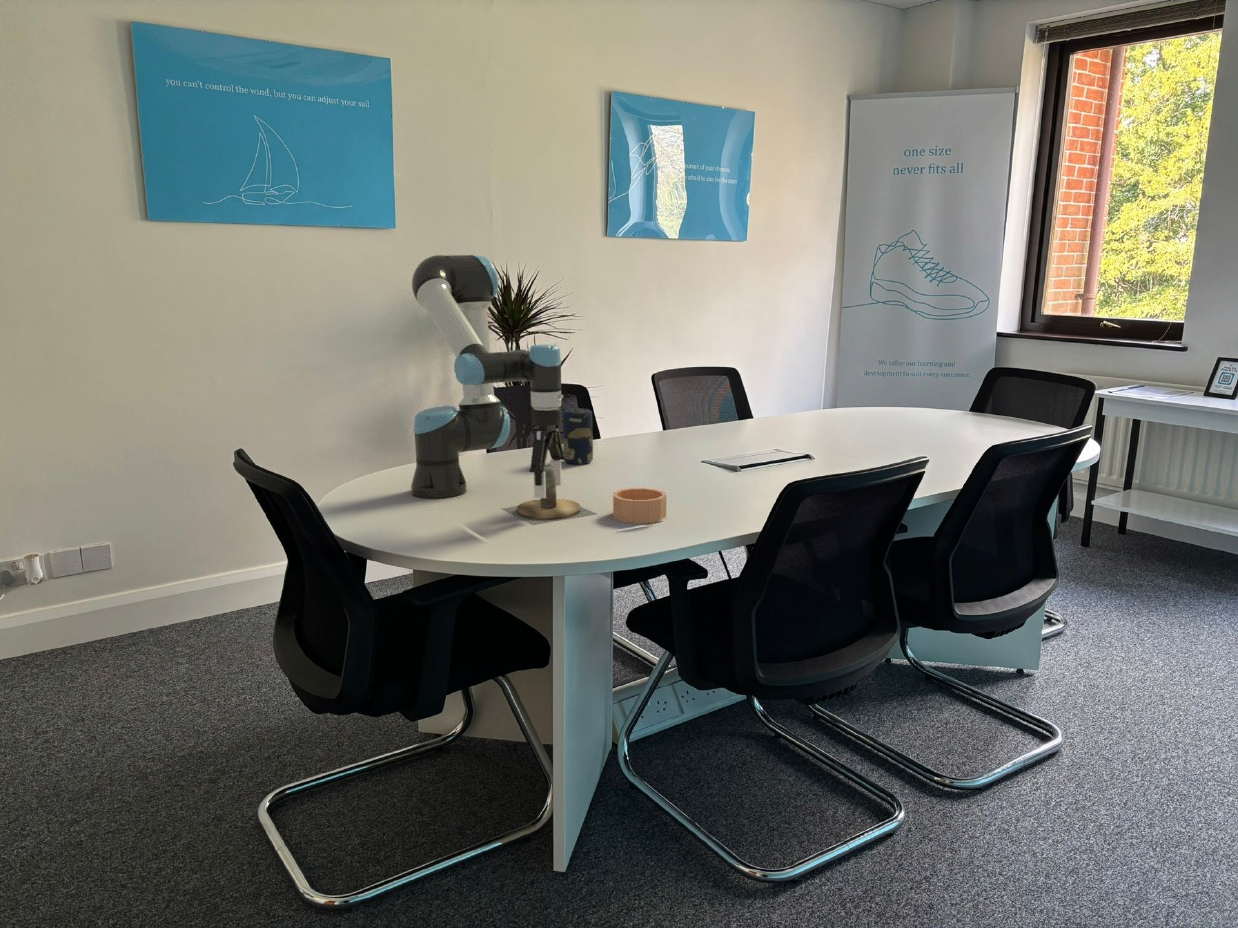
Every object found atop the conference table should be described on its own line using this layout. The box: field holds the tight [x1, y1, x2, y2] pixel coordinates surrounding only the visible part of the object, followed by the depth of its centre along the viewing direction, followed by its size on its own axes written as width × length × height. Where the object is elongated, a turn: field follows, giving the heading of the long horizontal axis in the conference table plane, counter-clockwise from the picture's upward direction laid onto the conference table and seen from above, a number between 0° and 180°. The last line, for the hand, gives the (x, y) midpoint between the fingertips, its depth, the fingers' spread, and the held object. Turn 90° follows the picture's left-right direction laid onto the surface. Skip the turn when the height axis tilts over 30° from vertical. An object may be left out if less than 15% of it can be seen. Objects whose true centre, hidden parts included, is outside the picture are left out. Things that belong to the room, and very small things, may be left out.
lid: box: [516, 465, 581, 520], centre depth 227 cm, size 16×16×11 cm
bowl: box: [612, 487, 667, 526], centre depth 223 cm, size 13×13×6 cm
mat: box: [501, 505, 598, 526], centre depth 228 cm, size 18×18×1 cm
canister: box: [562, 406, 594, 465], centre depth 287 cm, size 10×10×18 cm
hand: (548, 491), depth 227 cm, fingers open, 13 cm apart
